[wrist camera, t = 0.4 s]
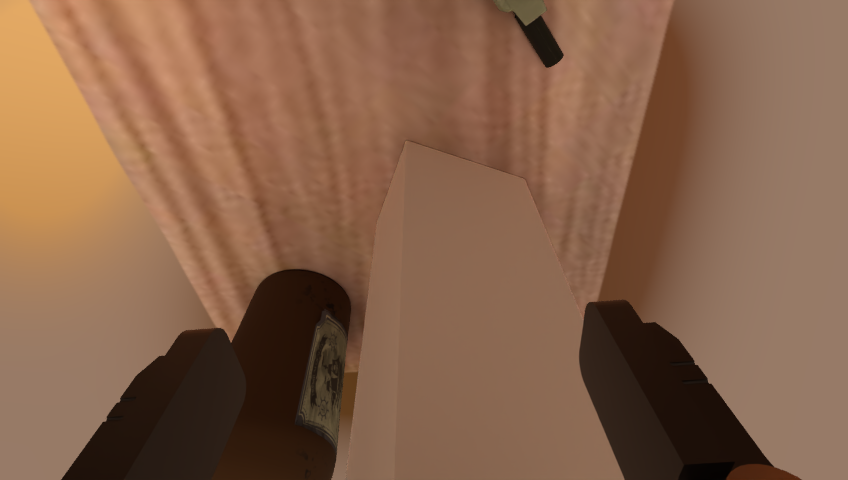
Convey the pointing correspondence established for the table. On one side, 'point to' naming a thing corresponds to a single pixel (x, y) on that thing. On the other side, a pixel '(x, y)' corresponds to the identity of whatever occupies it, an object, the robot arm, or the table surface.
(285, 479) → the olive oil
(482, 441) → the stand
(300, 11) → the table surface
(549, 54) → the handheld radio
